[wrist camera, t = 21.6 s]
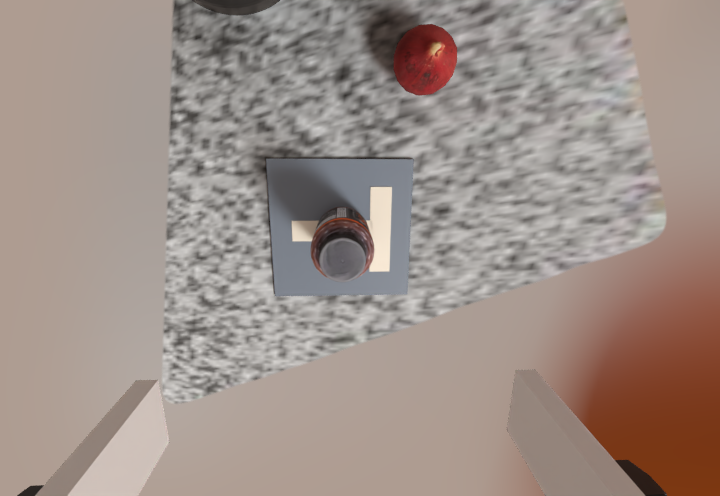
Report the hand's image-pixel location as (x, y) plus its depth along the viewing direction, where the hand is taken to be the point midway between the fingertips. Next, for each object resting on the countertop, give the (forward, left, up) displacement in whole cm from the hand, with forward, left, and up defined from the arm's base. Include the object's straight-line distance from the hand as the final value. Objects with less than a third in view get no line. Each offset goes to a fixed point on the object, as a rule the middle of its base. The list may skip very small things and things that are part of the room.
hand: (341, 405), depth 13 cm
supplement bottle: (0, 0, -28) cm, 29 cm away
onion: (-17, +8, -29) cm, 34 cm away
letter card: (0, 0, -29) cm, 29 cm away
